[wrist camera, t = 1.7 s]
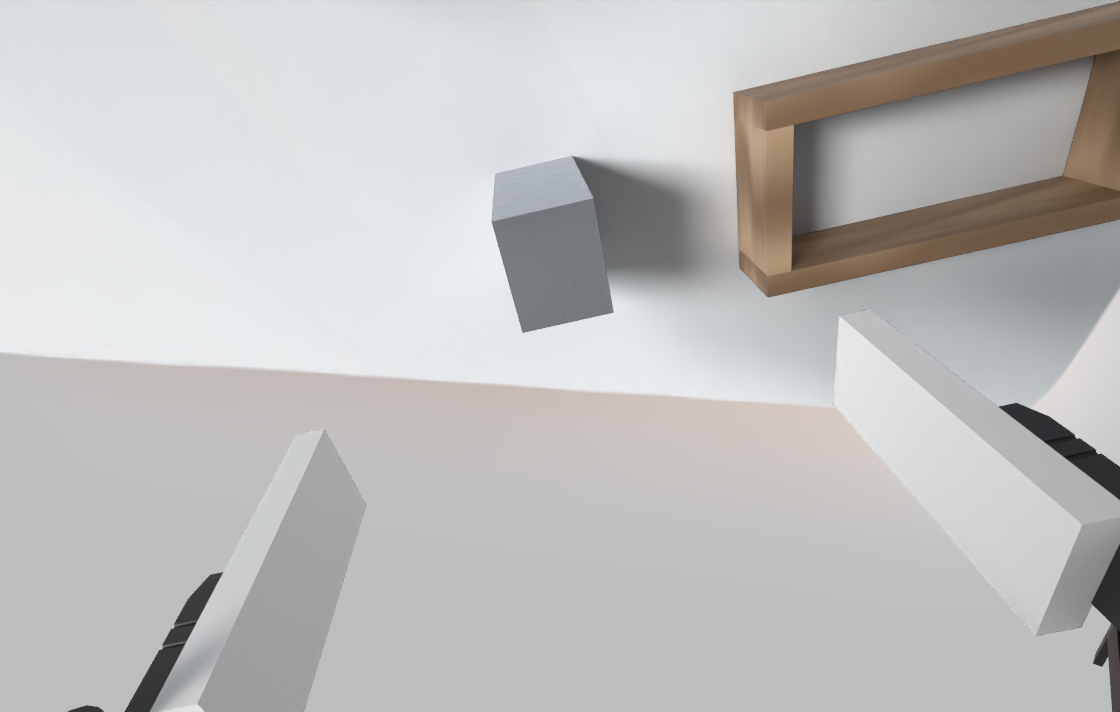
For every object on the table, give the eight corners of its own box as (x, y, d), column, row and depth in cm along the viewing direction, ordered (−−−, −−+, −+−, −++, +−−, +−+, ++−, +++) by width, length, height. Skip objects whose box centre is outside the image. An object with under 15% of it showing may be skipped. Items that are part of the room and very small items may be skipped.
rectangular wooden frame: (733, 92, 27) (766, 101, 23) (1135, -3, 26) (1230, -7, 23) (739, 268, 32) (768, 297, 28) (1078, 192, 31) (1149, 212, 28)
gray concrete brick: (495, 174, 28) (491, 221, 21) (572, 155, 28) (593, 197, 21) (518, 264, 30) (522, 332, 24) (589, 248, 30) (613, 312, 24)
